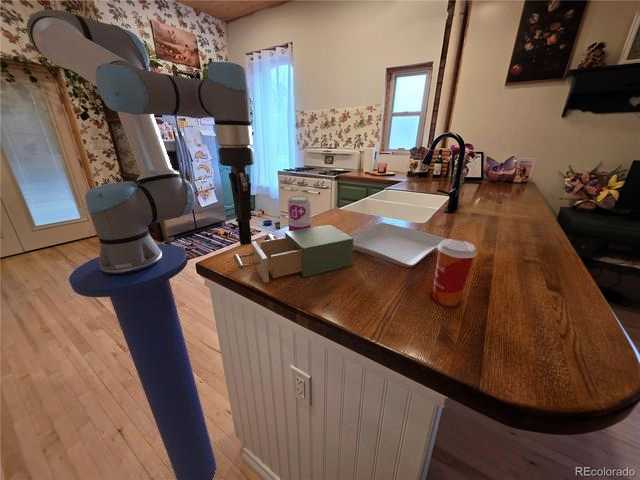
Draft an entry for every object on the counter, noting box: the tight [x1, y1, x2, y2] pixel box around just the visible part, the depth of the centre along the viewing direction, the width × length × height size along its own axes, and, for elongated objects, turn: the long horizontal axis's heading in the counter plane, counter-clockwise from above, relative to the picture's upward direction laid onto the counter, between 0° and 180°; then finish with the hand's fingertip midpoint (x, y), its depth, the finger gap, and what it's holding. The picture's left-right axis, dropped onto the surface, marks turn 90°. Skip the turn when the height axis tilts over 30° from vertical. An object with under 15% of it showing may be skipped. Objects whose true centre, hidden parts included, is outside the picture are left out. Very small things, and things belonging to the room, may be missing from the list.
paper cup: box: [432, 238, 478, 307], centre depth 58 cm, size 8×8×14 cm
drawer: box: [233, 236, 303, 283], centre depth 71 cm, size 20×12×7 cm, turn 117°
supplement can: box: [287, 195, 312, 231], centre depth 94 cm, size 8×8×15 cm
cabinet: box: [284, 224, 354, 278], centre depth 76 cm, size 16×14×9 cm
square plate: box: [347, 221, 447, 269], centre depth 86 cm, size 27×27×4 cm
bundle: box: [263, 234, 277, 241], centre depth 84 cm, size 7×5×5 cm
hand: (245, 243), depth 66 cm, fingers closed
